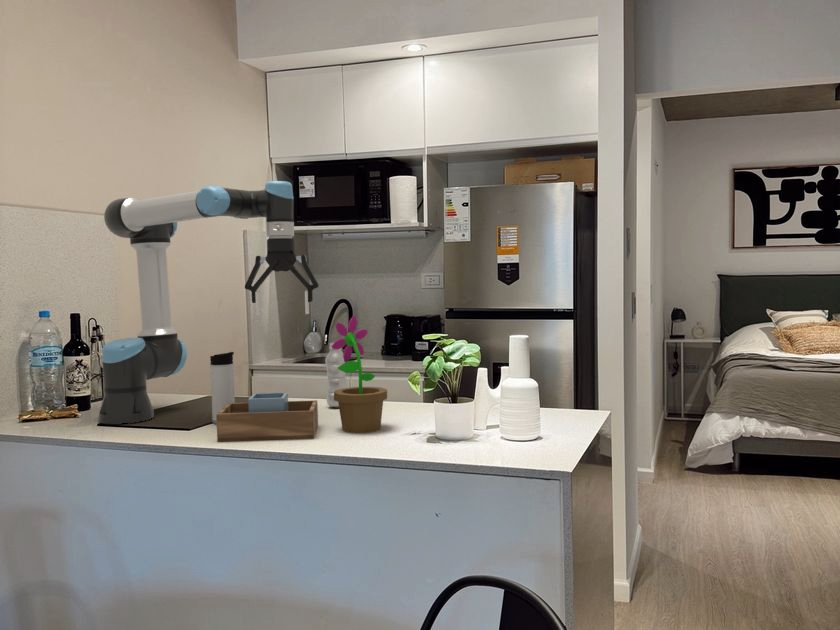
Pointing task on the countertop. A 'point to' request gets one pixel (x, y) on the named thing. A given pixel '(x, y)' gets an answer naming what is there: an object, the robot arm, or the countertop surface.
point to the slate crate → (268, 402)
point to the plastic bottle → (334, 374)
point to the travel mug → (221, 382)
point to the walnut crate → (267, 422)
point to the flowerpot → (357, 402)
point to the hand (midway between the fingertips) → (282, 314)
